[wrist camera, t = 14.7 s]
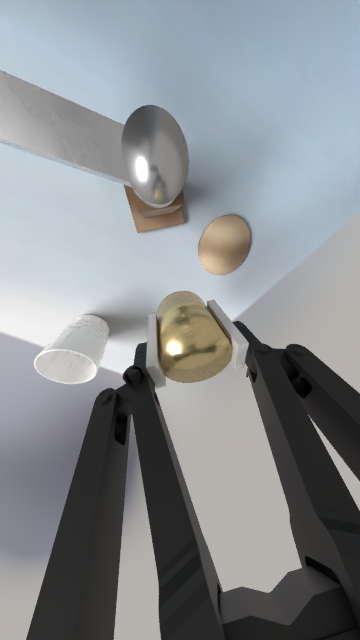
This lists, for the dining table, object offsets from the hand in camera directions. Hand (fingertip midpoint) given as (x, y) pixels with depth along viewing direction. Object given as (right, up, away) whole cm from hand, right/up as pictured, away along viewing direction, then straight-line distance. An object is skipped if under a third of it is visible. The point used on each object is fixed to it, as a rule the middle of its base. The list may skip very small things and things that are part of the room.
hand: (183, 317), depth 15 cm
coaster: (+7, +12, +9) cm, 17 cm away
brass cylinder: (0, 0, +1) cm, 1 cm away
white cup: (-19, -2, +14) cm, 23 cm away
